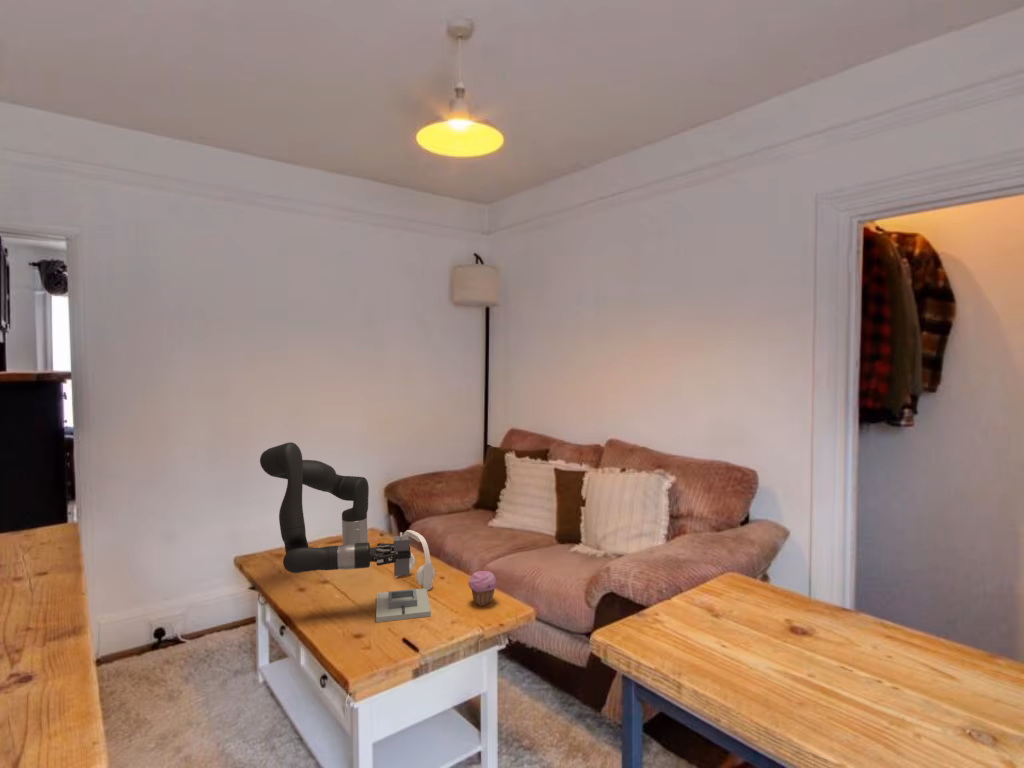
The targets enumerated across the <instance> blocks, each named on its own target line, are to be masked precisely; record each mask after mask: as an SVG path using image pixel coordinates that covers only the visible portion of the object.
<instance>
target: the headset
mask: <svg viewBox="0 0 1024 768" xmlns="http://www.w3.org/2000/svg"><path fill="white" fill-rule="evenodd" d="M406 535H408V536H409V538H411V539H414V540H415V541H416V542H418V543H421V546H422V549H423V553H424V554H423V555H424V561H425V562H424V564H422V565H420V566H419V568H418V569H417V571H416V573H415V574H416V575H415V579H416V582H417V584H418V585H419V586H421V587H422V588H426V589H427V591H430V589H432V587H433V580H435V579H434V578H435V573H436V572H435V568H434V566H433V563H432V562H431V556H430V554H431V553H430V550H429V545H428V543H427V540H426V539H425V537H424V536H423V535H422V534H421V533H419V532H417V531H414V530H412V529H411V530H410V529H409V530H408V529H407V530H406V531H404V532H403V533H402V536H406ZM415 564H416V559H415V556H414V554H413V553H412V552H411V558H409V570H410V572H411V571H412V570H413V568H414V567H415ZM394 578H399V576H394Z"/></svg>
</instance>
